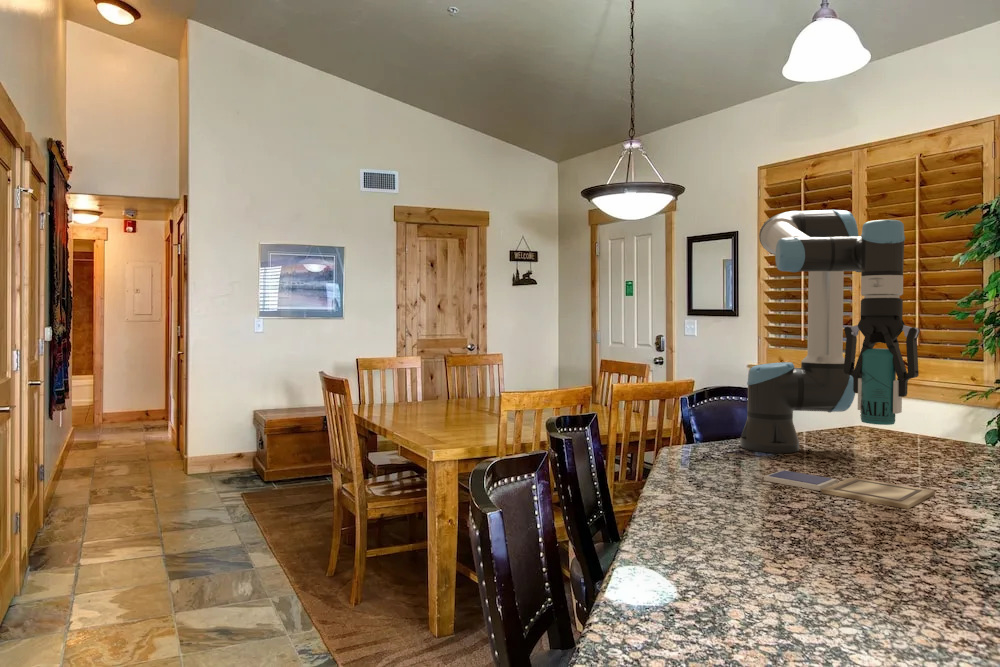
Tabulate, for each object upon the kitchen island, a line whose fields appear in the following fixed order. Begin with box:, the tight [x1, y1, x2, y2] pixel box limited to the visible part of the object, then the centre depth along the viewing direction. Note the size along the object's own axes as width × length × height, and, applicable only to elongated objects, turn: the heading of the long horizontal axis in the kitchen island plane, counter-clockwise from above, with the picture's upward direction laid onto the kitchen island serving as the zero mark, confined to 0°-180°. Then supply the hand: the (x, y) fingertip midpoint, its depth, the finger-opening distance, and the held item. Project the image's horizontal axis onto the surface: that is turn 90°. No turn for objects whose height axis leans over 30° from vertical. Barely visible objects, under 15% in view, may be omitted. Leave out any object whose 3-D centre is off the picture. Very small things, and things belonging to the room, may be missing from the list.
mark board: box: [820, 476, 935, 510], centre depth 143 cm, size 16×16×1 cm
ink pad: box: [763, 469, 838, 492], centre depth 152 cm, size 12×9×1 cm
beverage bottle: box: [859, 332, 897, 426], centre depth 142 cm, size 6×7×20 cm
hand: (879, 410), depth 142 cm, fingers closed on beverage bottle, 6 cm apart
